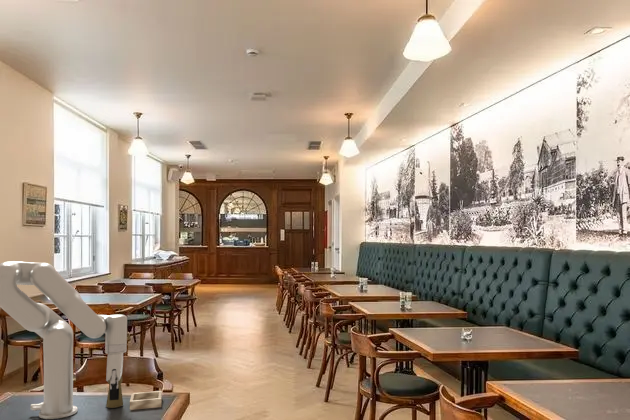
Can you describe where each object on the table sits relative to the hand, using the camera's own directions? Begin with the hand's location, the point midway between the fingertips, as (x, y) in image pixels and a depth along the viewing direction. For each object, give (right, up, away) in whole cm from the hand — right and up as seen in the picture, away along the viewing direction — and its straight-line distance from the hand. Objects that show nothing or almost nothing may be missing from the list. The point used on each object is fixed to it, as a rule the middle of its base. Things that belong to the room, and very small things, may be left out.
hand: (114, 397), depth 204 cm
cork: (0, -3, 0) cm, 3 cm away
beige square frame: (+11, -3, +2) cm, 12 cm away
